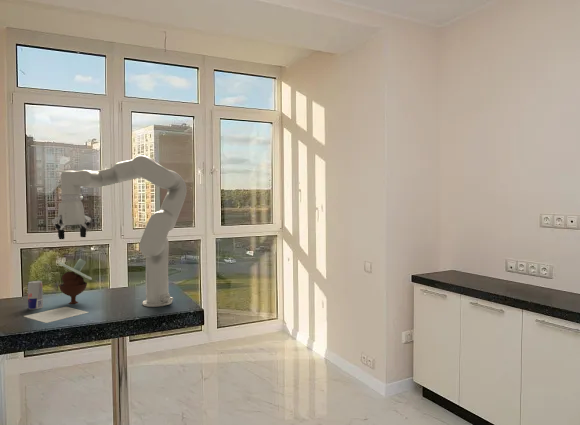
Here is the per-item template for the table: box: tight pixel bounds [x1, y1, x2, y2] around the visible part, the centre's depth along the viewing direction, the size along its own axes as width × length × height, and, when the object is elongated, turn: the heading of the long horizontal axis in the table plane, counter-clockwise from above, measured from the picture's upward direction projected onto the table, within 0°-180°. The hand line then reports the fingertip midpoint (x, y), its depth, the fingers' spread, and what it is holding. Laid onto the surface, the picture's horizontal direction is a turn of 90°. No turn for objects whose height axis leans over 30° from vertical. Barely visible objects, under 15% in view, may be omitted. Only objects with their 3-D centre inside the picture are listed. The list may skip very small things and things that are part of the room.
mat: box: [22, 306, 90, 324], centre depth 167 cm, size 17×17×1 cm
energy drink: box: [27, 280, 44, 310], centre depth 177 cm, size 5×5×12 cm
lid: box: [58, 258, 93, 281], centre depth 186 cm, size 15×15×6 cm
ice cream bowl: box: [58, 271, 88, 305], centre depth 185 cm, size 11×11×15 cm
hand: (72, 238), depth 184 cm, fingers open, 9 cm apart
